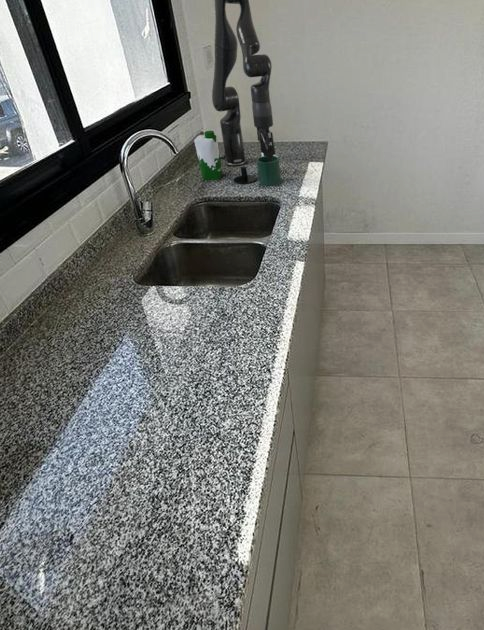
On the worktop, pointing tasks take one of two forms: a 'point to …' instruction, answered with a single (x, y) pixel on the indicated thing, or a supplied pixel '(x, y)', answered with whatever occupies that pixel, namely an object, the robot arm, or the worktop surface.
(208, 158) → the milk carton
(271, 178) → the tin
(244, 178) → the lid
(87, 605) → the worktop surface
